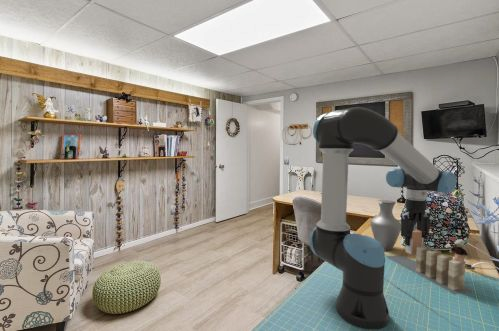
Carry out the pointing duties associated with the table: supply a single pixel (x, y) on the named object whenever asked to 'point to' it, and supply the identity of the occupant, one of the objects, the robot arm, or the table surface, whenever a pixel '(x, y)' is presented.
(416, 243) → the domino
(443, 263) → the domino
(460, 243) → the grandmother figurine
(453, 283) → the domino
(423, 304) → the table surface
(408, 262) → the domino board
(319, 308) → the table surface
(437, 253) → the domino
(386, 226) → the vase
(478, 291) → the table surface
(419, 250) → the domino
